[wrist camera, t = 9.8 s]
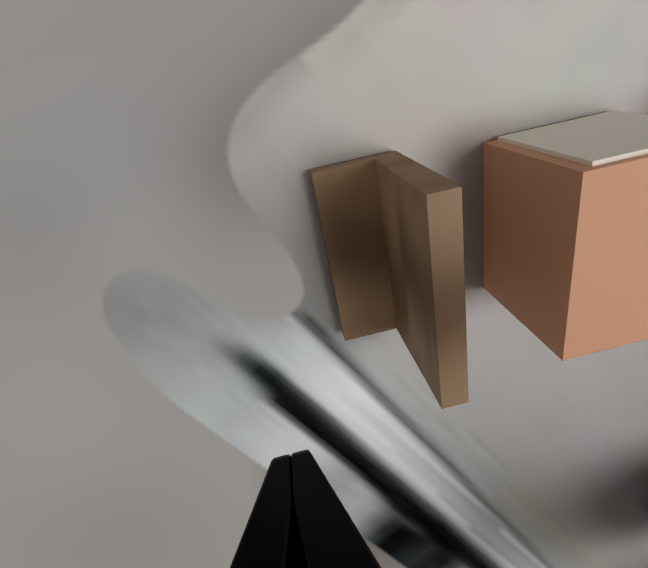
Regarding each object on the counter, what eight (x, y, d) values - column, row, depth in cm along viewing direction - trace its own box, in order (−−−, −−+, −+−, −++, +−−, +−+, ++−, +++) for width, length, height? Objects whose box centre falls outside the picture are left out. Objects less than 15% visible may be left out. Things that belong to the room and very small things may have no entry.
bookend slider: (412, 316, 20) (468, 402, 15) (342, 333, 20) (374, 426, 15) (395, 150, 17) (461, 186, 11) (309, 170, 16) (336, 215, 11)
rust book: (596, 258, 21) (713, 321, 16) (482, 286, 21) (562, 360, 15) (617, 107, 18) (775, 122, 12) (481, 138, 17) (584, 167, 12)
